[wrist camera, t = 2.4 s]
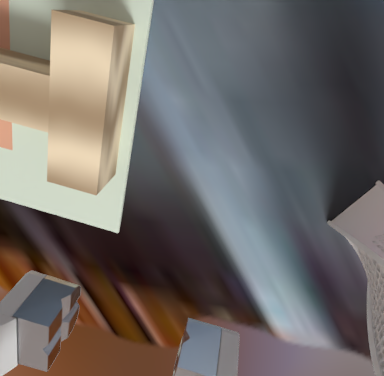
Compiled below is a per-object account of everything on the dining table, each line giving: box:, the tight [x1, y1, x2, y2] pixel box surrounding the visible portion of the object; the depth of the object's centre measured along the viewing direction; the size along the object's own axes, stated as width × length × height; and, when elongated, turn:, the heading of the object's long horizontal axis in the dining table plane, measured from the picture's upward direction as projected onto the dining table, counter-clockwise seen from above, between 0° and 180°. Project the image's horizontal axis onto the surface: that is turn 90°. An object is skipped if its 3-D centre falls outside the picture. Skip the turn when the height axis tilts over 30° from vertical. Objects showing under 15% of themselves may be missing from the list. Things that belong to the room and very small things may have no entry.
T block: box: [0, 10, 135, 195], centre depth 26 cm, size 12×12×4 cm
